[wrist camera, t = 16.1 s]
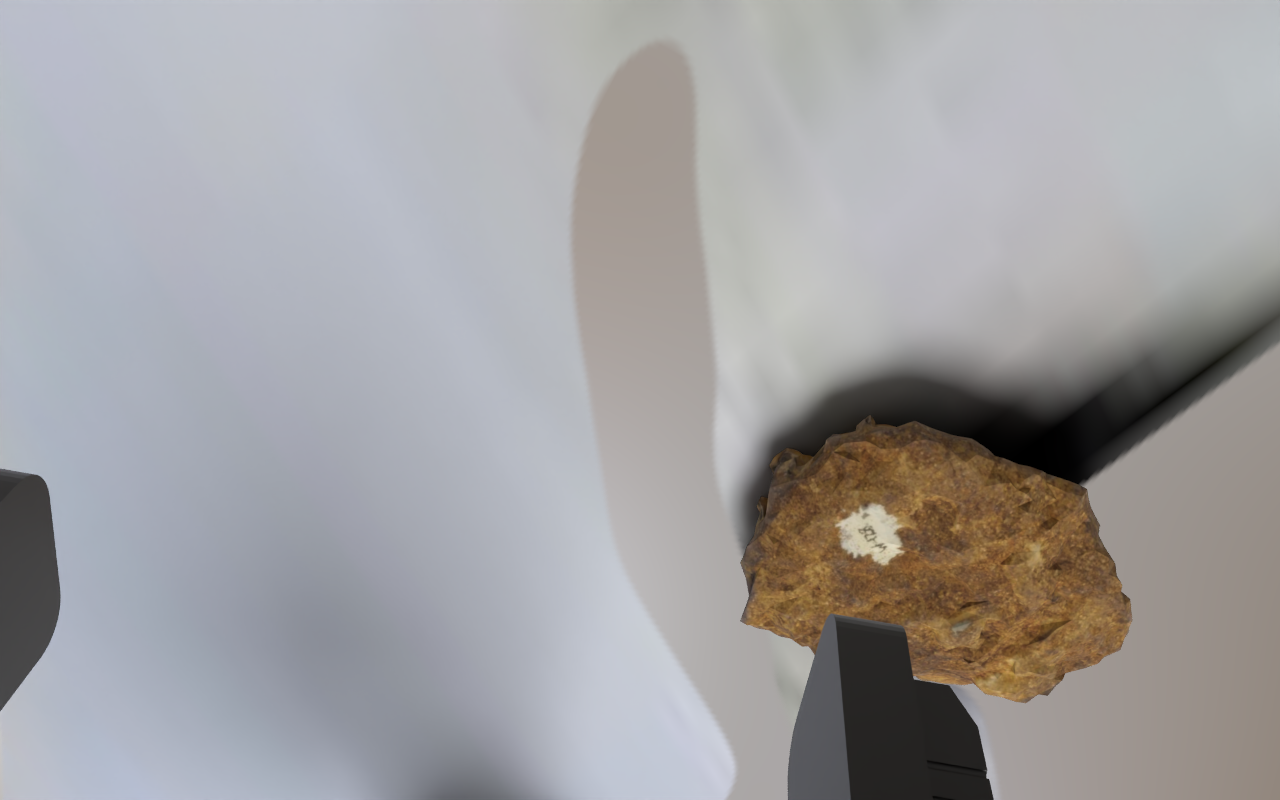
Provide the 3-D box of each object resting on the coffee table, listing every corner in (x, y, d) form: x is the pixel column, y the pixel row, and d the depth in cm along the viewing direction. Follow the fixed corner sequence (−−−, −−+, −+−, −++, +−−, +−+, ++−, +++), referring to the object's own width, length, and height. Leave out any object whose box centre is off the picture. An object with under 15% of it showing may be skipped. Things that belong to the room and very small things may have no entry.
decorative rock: (1186, 468, 46) (802, 357, 45) (1225, 525, 42) (807, 406, 41) (1059, 700, 51) (711, 604, 50) (1084, 770, 47) (708, 667, 46)
